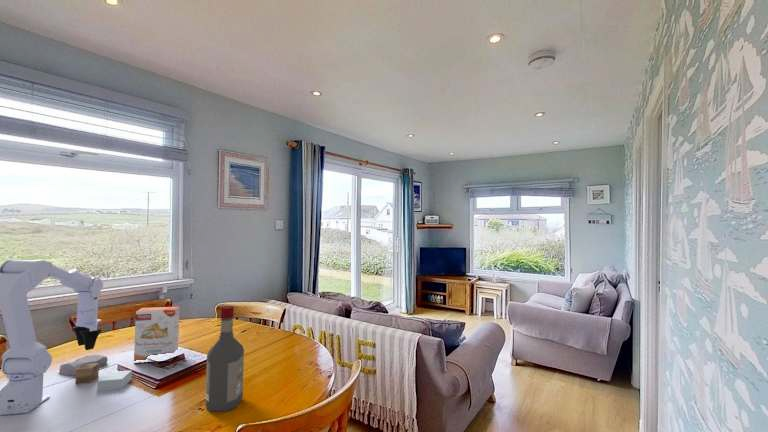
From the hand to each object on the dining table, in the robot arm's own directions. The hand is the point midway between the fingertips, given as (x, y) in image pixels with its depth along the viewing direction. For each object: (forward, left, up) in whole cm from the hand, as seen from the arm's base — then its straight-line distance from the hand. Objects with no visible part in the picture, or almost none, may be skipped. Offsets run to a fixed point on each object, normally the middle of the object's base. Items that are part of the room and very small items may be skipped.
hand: (85, 347), depth 125 cm
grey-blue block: (-12, -15, -10) cm, 22 cm away
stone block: (+6, +4, -10) cm, 12 cm away
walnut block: (-6, -4, -10) cm, 12 cm away
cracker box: (+9, -20, -10) cm, 24 cm away
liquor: (-32, -54, -10) cm, 64 cm away
